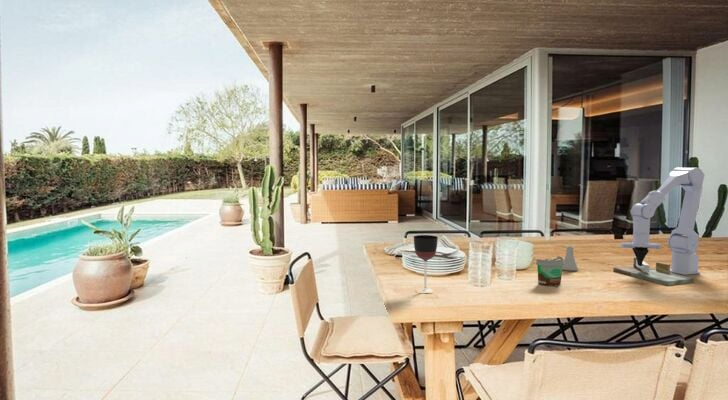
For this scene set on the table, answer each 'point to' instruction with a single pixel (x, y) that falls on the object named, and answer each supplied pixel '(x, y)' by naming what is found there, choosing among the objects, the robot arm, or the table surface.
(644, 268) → the lock bar
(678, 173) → the robot arm
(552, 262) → the food container
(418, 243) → the wineglass
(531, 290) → the table surface
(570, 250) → the flask
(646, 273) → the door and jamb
